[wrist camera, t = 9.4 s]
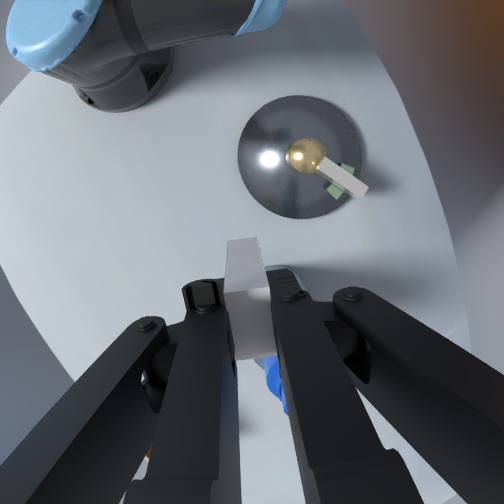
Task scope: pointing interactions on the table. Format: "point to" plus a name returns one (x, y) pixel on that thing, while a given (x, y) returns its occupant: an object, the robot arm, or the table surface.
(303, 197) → the gauge plate
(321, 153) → the needle dial
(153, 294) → the table surface
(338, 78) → the table surface
